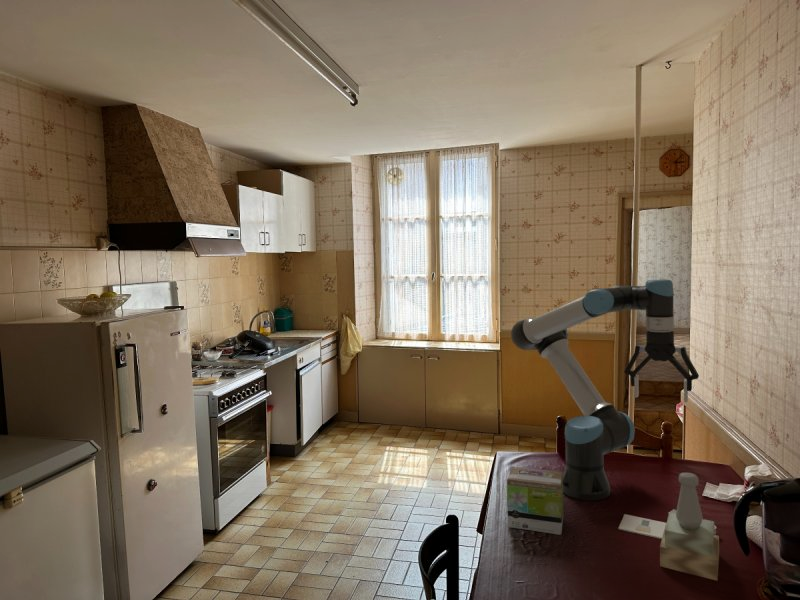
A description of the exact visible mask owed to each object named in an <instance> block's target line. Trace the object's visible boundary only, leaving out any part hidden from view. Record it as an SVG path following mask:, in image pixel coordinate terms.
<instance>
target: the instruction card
mask: <svg viewBox="0 0 800 600" xmlns="http://www.w3.org/2000/svg"><path fill="white" fill-rule="evenodd" d="M666 523H667V522H663V521H659V520H653V519H650V518H646V517H645V518H644V517H639V516H635V515H631V514H626V513H624V514H623V517H622V520H621V521H620V523H619V526H618V530H620V531H624V532H629V533H633V534H638V535H642V536H647V537H651V538H654V539H655V538H656V539H659V540H662V537H663V533H664V529H665V525H666Z"/></svg>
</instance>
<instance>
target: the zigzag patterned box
mask: <svg viewBox="0 0 800 600" xmlns="http://www.w3.org/2000/svg"><path fill="white" fill-rule="evenodd" d="M665 523H666V525H665V529H664V533H663V537H662V539H660V540H661V541H660V545H659V567H662V568H666V569H670V570H674V571H677V572H681V573H685V574H690V575H694V576H697V577H701V578H705V579H709V580H712V581H713V580H714V581H718V577H719V566H720V565H719V563H720V536H719V535H716V534H715V535H714V525H715V521H713V520H708V519H705V518H704V519H702V523H701V525H700V526H699V528H698V529H694V530H690V529H686V528H683V527H682V526H681V525H680V524H679V522H678V519H677V517H676V514H674V513H669V514H668V516H667V521H666V522H665Z"/></svg>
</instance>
